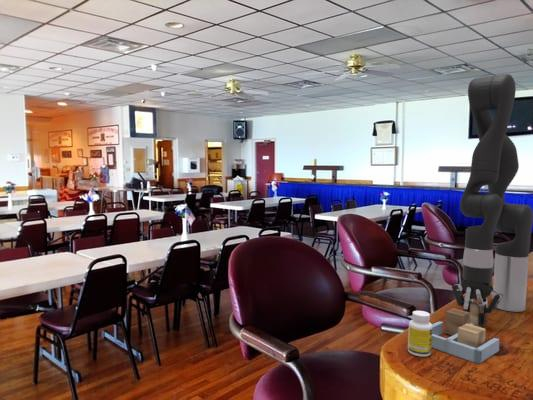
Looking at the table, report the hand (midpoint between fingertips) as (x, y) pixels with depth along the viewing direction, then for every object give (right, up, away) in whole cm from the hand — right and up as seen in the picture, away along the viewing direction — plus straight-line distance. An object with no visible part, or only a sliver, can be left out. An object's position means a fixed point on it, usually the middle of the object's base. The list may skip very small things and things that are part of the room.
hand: (474, 323), depth 124 cm
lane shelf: (-11, -2, -14) cm, 18 cm away
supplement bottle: (-22, -2, -18) cm, 28 cm away
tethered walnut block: (-4, -1, -4) cm, 6 cm away
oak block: (-9, -2, -17) cm, 20 cm away
